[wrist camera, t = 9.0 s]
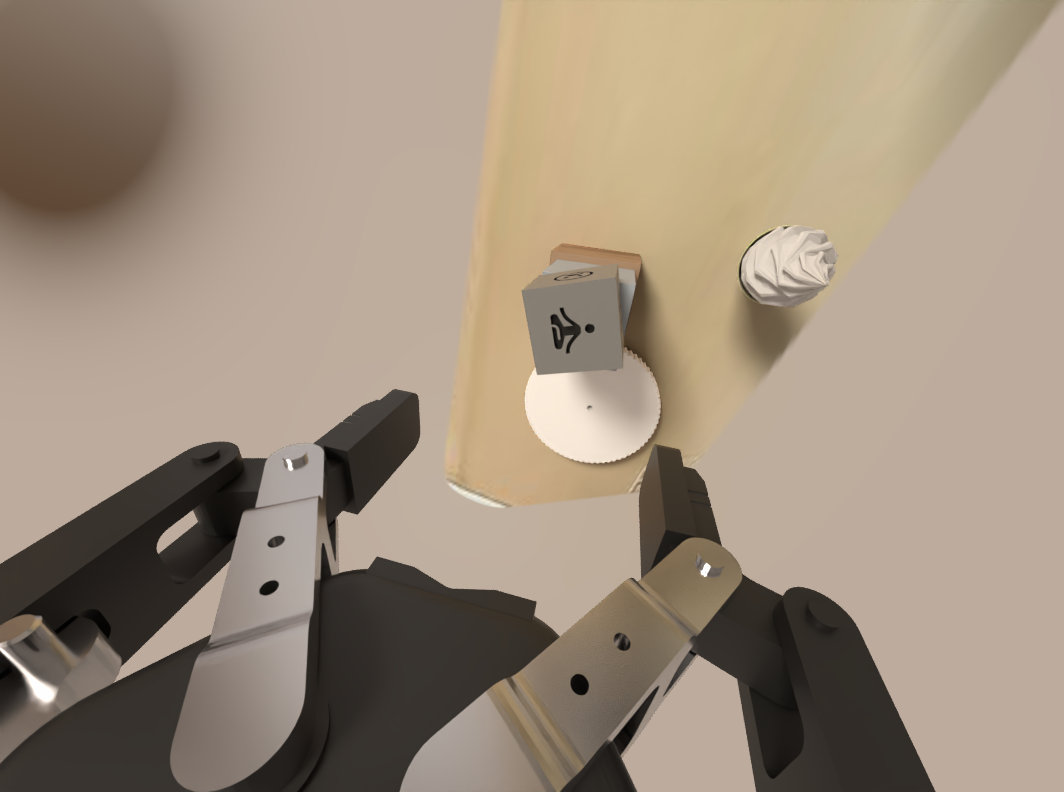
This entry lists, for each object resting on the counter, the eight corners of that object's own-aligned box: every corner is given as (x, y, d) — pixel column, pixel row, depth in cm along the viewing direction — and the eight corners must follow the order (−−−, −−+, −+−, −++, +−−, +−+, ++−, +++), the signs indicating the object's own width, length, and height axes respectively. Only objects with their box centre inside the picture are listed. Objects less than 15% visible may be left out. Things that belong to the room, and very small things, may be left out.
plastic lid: (548, 317, 39) (543, 324, 36) (682, 361, 38) (685, 371, 35) (517, 427, 46) (511, 438, 43) (629, 466, 44) (629, 480, 42)
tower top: (557, 259, 30) (542, 271, 25) (634, 270, 29) (635, 284, 24) (548, 331, 33) (533, 356, 28) (618, 343, 32) (616, 371, 27)
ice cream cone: (792, 226, 30) (914, 244, 17) (763, 288, 33) (850, 346, 20) (728, 213, 31) (800, 222, 18) (704, 276, 33) (752, 323, 20)
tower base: (562, 243, 35) (551, 250, 30) (639, 254, 34) (641, 263, 29) (552, 317, 38) (540, 335, 33) (622, 329, 37) (621, 349, 32)
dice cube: (540, 275, 25) (521, 290, 21) (617, 263, 24) (615, 277, 19) (551, 347, 27) (537, 375, 23) (623, 340, 26) (623, 368, 21)
